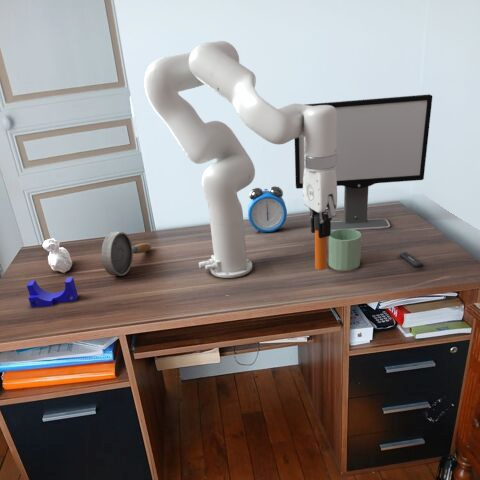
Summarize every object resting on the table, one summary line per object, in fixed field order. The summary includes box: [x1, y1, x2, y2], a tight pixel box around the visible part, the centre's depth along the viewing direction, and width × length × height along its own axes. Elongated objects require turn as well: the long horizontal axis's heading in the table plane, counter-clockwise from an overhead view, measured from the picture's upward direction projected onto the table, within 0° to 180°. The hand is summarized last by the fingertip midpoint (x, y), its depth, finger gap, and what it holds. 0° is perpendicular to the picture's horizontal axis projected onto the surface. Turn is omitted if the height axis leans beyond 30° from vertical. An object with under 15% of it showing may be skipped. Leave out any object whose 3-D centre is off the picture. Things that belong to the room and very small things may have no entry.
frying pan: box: [100, 231, 152, 277], centre depth 157 cm, size 13×3×25 cm
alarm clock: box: [247, 185, 288, 234], centre depth 172 cm, size 13×6×15 cm, turn 91°
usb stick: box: [399, 251, 424, 269], centre depth 144 cm, size 10×3×2 cm, turn 13°
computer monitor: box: [294, 93, 433, 232], centre depth 163 cm, size 41×8×40 cm, turn 88°
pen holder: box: [327, 229, 362, 271], centre depth 145 cm, size 9×9×10 cm
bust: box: [41, 237, 73, 274], centre depth 159 cm, size 12×8×11 cm
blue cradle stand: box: [26, 276, 79, 308], centre depth 140 cm, size 12×4×6 cm, turn 92°
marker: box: [314, 213, 328, 271], centre depth 131 cm, size 3×3×14 cm
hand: (320, 233), depth 130 cm, fingers closed on marker, 3 cm apart
